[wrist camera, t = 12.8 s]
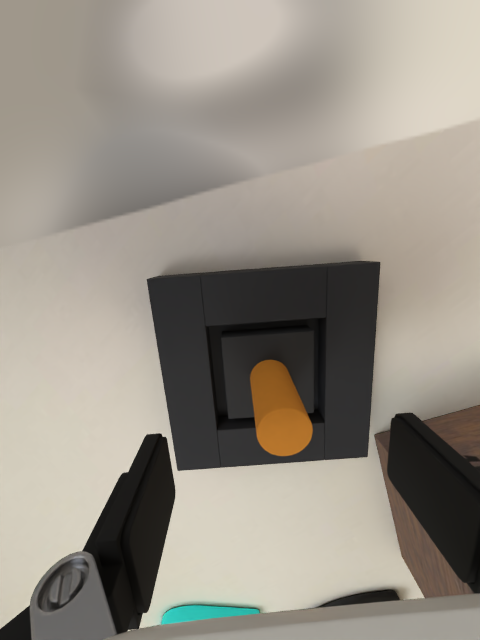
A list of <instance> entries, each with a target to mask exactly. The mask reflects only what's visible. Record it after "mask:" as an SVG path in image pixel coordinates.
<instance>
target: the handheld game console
mask: <svg viewBox="0 0 480 640" xmlns="http://www.w3.org/2000/svg"><path fill="white" fill-rule="evenodd" d="M250 614H260V611H259V610H258V609H250V608H234V607H219V606H204V605H190V606H181V607H177V608H172V609H171V610H169V611H168V612H166V613H165V614H164V615H163V618H162V623H161V625H163V624H171V623H179V622H187V621H195V620H203V619H211V618H221V617H231V616H240V615H250Z"/></svg>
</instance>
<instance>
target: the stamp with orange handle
mask: <svg viewBox="0 0 480 640" xmlns="http://www.w3.org/2000/svg"><path fill="white" fill-rule="evenodd" d="M221 346H222V356H223V367H224V378H225V388H226V399H227V409H228V418H229V419H235V418H249V417H255V426H256V434H257V439H258V442H259V443H260V445H261V446H262V447H263V449H265V450H266V451H267V452H269V453H271V454H273V455H277V456H290V455H293V454H296V453H298V452H300V451H302V450H303V449H304V448H305V447H306V446H307V445H308V444H309V442H310V440H311V438H312V433H313V427H312V423H311V421H310V418H309V416H308V414H307V413H314V331H313V330H312V329H311V328H310V327H309V326H308V325H303V326H289V327H275V328H262V329H248V330H234V331H222V335H221Z"/></svg>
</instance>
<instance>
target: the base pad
mask: <svg viewBox="0 0 480 640" xmlns="http://www.w3.org/2000/svg"><path fill="white" fill-rule="evenodd" d="M379 274H380V262H370V261H355V262H342V263H328V264H315V265H301V266H287V267H274V268H260V269H246V270H233V271H219V272H205V273H192V274H178V275H165V276H157V277H153V278H149V279H147V284H148V290H149V296H150V302H151V309H152V315H153V321H154V327H155V333H156V339H157V346H158V352H159V358H160V364H161V370H162V377H163V383H164V389H165V395H166V401H167V408H168V414H169V420H170V426H171V432H172V438H173V445H174V451H175V457H176V463H177V469H178V471H181V470H195V469H209V468H221V467H235V466H249V465H263V464H277V463H291V462H305V461H318V460H331V459H345V458H359V457H367V456H368V442H369V427H370V412H371V396H372V381H373V366H374V351H375V335H376V320H377V305H378V290H379ZM303 325H308V326H309V327H310V328H311V329H312V330H313V331H314V413H307V414H308V416H309V418H310V421H311V423H312V427H313V433H312V438H311V440H310V442H309V444H308V445H307V446H306V447H305V448H304V449H303V450H302V451H300V452H298V453H296V454H293V455H290V456H277V455H273V454H271V453H269V452H267V451H266V450H265V449H263V447H262V446H261V445H260V443H259V442H258V439H257V434H256V426H255V417H249V418H235V419H229V418H228V409H227V399H226V388H225V378H224V367H223V356H222V346H221V335H222V331H234V330H248V329H262V328H275V327H289V326H303Z"/></svg>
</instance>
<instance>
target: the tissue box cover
mask: <svg viewBox="0 0 480 640" xmlns="http://www.w3.org/2000/svg"><path fill="white" fill-rule="evenodd" d="M422 422H424V423H425V424H426V425H427V426H428V427H429V428H430V429H432V430H433V431H434V432H435V433H436V434H437V435H439V436H440V437H441V438H442V439H443V440H444V441H445V442H447V443H448V444H449V445H450V446H451V447H452V448H453V449H455V450H456V451H457V452H458V453H459V454H460V455H462V456H463V457H464V458H465V459H466V460H467V461H468V462H470V463H471V464H472V465H473V466H474V467H475V468H476V469H478V470H479V471H480V405H478V406H475V407H471V408H468V409H464V410H461V411H457V412H454V413H450V414H447V415H443V416H440V417H436V418H432V419H429V420H425V421H422ZM374 436H375V440H376V445H377V449H378V454H379V458H380V462H381V467H382V471H383V475H384V480H385V484H386V489H387V493H388V497H389V502H390V506H391V511H392V515H393V519H394V524H395V528H396V532H397V537H398V541H399V546H400V550H401V554H402V557H403V559H404V561H405V563H406V564H407V566H408V568H409V570H410V572H411V574H412V575H413V577H414V579H415V581H416V583H417V584H418V586H419V588H420V590H421V592H422V593H423V595H424V597H425V598H432V597H443V596H455V595H466V594H474V593H473V591H472V590H471V589H470V587H469V586H468V584H467V583H464V582H462V581H461V580H460V579H459V578H458V577H457V575H456V574H455V572H454V571H453V570H452V568H451V567H450V565H449V564H448V562H447V561H446V560H445V558H444V557H443V555H442V554H441V552H440V551H439V550H438V548H437V547H436V545H435V544H434V543H433V541H432V540H431V538H430V537H429V535H428V534H427V533H426V531H425V530H424V528H423V527H422V525H421V524H420V523H419V521H418V520H417V518H416V517H415V516H414V514H413V513H412V511H411V510H410V508H409V507H408V506H407V504H406V503H405V501H404V500H403V498H402V497H401V496H400V494H399V493H398V491H397V490H396V489H395V487H394V486H393V484H392V483H391V481H390V480H389V478H388V475H387V463H388V451H389V440H390V431H387V432H383V433H380V434H376V435H374Z"/></svg>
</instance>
